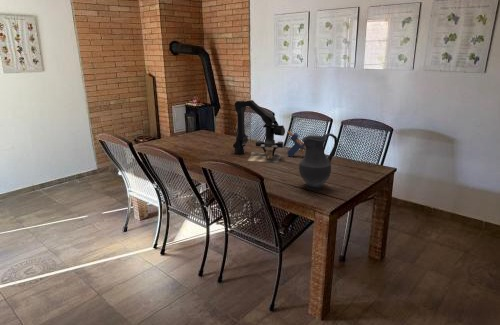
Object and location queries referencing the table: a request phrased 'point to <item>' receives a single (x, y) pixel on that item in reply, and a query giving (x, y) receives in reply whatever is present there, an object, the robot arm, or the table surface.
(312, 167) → the pitcher
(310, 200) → the table surface
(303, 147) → the glue gun
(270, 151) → the brown block with peg
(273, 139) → the robot arm
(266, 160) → the board
